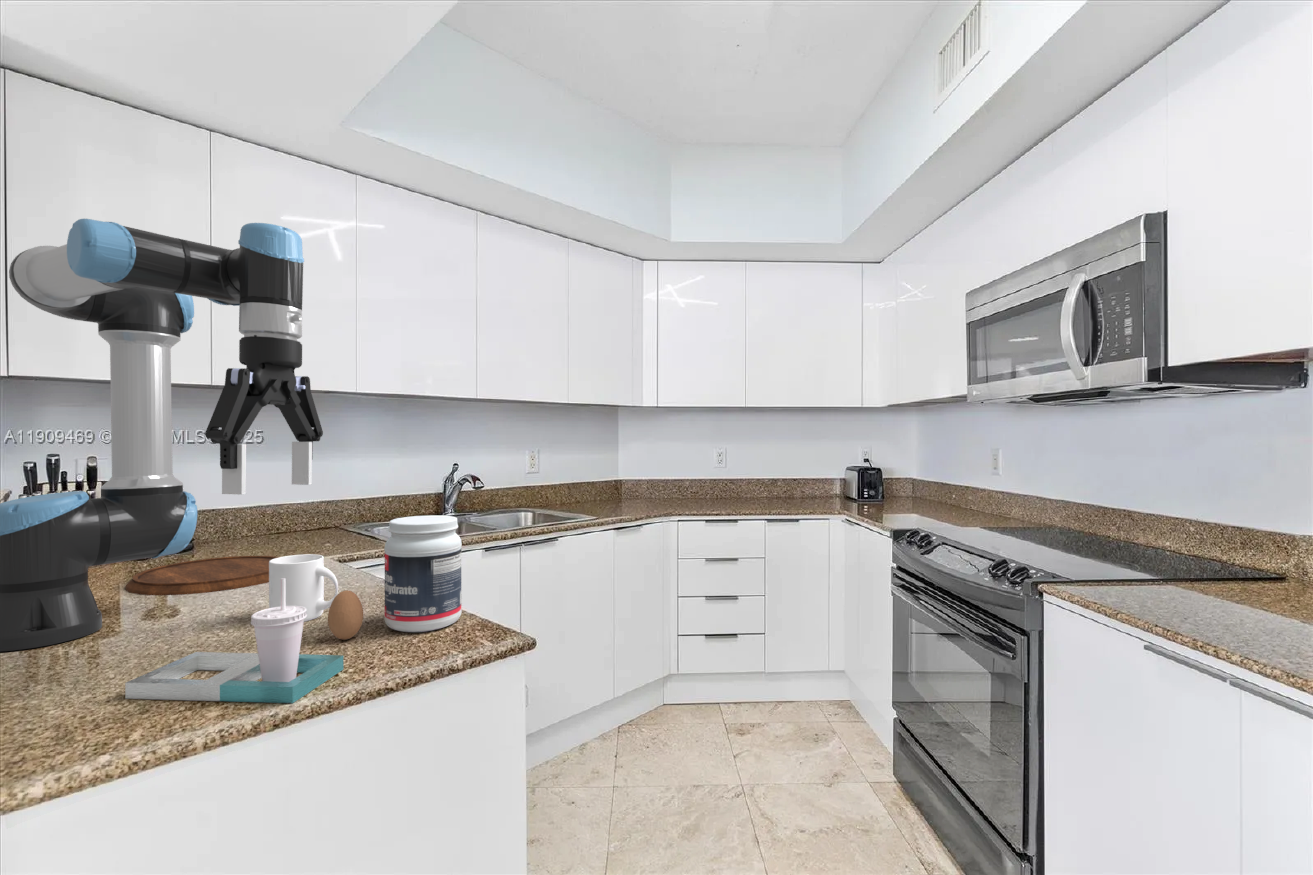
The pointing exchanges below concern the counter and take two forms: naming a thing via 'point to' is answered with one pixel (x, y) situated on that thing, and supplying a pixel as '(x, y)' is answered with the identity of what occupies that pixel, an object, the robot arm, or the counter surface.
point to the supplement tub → (422, 573)
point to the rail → (231, 679)
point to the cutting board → (202, 576)
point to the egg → (345, 615)
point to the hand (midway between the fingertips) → (270, 489)
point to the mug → (300, 583)
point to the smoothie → (279, 639)
